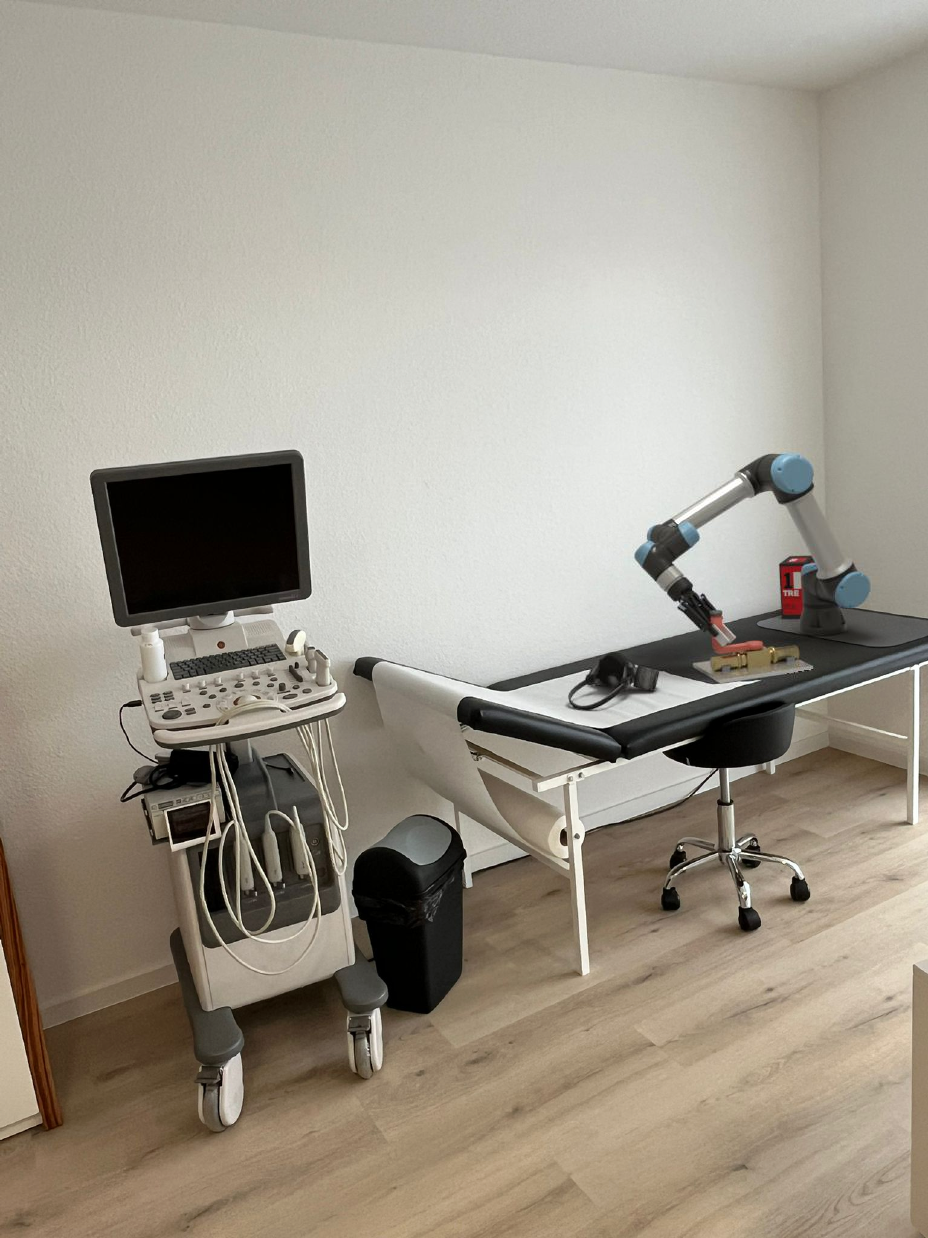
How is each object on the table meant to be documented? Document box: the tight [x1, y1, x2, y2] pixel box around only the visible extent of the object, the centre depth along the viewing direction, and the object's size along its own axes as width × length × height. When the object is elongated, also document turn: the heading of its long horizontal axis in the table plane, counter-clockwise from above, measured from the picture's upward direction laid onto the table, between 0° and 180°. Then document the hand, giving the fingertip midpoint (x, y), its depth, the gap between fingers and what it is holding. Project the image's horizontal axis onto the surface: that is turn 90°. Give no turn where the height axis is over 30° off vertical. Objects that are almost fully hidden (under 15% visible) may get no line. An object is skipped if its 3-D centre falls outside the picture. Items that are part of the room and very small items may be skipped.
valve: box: [692, 644, 814, 684], centre depth 289 cm, size 28×21×6 cm
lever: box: [710, 609, 764, 655], centre depth 286 cm, size 15×5×12 cm, turn 98°
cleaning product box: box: [778, 555, 815, 620], centre depth 351 cm, size 16×9×20 cm, turn 149°
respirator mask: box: [567, 651, 660, 711], centre depth 278 cm, size 22×24×17 cm
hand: (729, 641), depth 284 cm, fingers closed on lever, 3 cm apart
